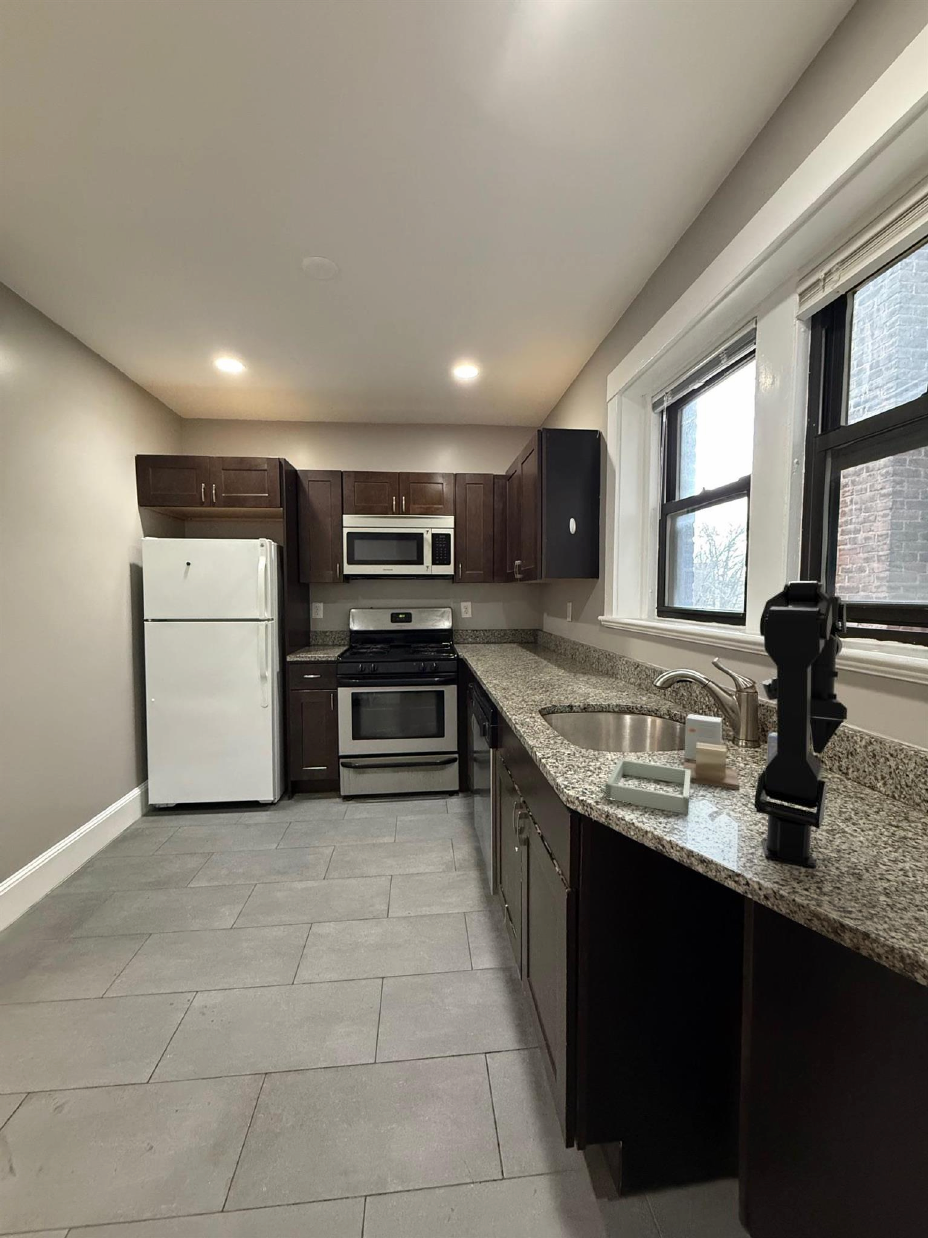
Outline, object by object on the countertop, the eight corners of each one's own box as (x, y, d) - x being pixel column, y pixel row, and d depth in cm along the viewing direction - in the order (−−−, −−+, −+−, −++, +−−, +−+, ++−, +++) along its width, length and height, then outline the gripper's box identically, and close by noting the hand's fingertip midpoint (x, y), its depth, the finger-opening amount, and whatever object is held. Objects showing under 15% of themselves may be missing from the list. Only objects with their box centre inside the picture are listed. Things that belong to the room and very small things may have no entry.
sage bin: (688, 814, 94) (688, 798, 93) (605, 799, 100) (606, 784, 100) (690, 783, 110) (690, 769, 110) (618, 771, 116) (619, 759, 116)
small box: (721, 758, 128) (723, 717, 127) (718, 764, 123) (720, 722, 123) (687, 753, 132) (688, 713, 132) (683, 758, 127) (685, 717, 127)
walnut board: (739, 789, 107) (739, 785, 107) (682, 780, 111) (683, 776, 111) (736, 774, 117) (736, 769, 117) (684, 766, 121) (684, 762, 121)
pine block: (725, 778, 111) (726, 751, 110) (695, 773, 113) (696, 747, 113) (724, 772, 115) (725, 746, 114) (695, 767, 117) (696, 742, 117)
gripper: (761, 655, 105) (757, 729, 106) (772, 665, 89) (768, 753, 89) (825, 659, 101) (821, 736, 101) (850, 671, 84) (845, 763, 84)
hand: (812, 746), depth 94 cm, fingers open, 9 cm apart
